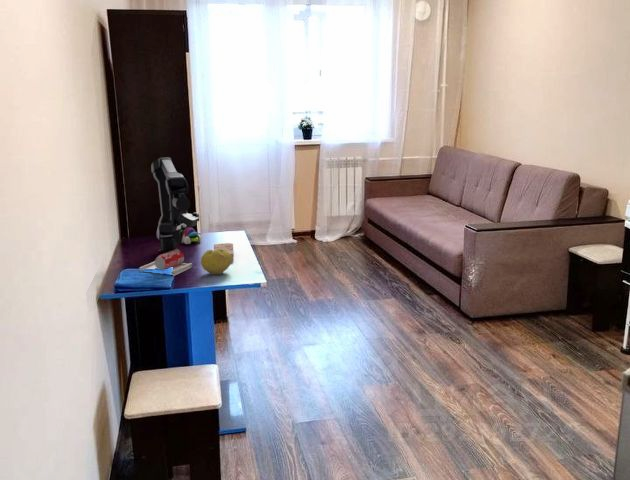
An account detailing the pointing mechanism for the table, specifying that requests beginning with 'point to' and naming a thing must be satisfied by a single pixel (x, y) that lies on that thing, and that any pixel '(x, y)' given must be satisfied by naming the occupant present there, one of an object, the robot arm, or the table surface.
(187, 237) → the multicoloured layered toy figurine
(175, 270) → the tray
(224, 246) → the brick
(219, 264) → the fruit
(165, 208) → the robot arm
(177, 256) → the beverage can
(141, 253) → the table surface
